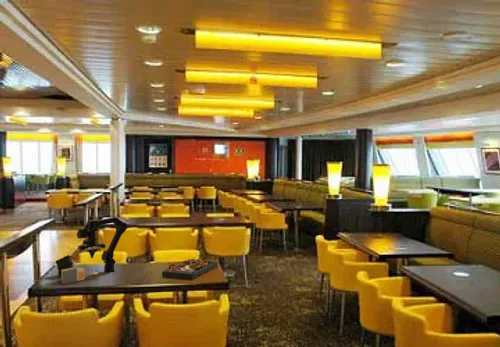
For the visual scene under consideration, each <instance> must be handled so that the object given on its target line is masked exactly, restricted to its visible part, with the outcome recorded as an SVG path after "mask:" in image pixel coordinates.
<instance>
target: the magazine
mask: <svg viewBox="0 0 500 347" xmlns="http://www.w3.org/2000/svg"><path fill="white" fill-rule="evenodd" d="M71 257H72V256H71V255H70V254H68V255H65V256H63V257H61V258H59V259H57V260H55V264H56V266H57V267H56V268H57V270H58V272H57V274H58V276H59V275H60V276H61V277H62V271H61V270H63V269H68V268H73V264H74V262H73V260H72V258H71Z"/></svg>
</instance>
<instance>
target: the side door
mask: <svg viewBox="0 0 500 347" xmlns="http://www.w3.org/2000/svg"><path fill="white" fill-rule="evenodd" d="M78 267H79V264H76V263H73V269H71V270H67V271H62V276H61V284H62V285H66V284H71V283H74V282H75V283H76V282H78V281H77V269H78Z"/></svg>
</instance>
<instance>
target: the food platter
mask: <svg viewBox="0 0 500 347" xmlns="http://www.w3.org/2000/svg"><path fill="white" fill-rule="evenodd" d="M167 264H168V267H167V268H166V269H164V270H162V271H161V277H162V276H166V277H165V278H170V277H177V278H176V279H181V278H188V279H187V280H192V279H193V280H194V278H195V279H197V278H198V277H197V276H199V275H201V274H203V273H205V272H207V271H208V272H210V271H212V270H214V269H216V268H218V261H214V260H213V261H210V260H208V259H205V260H200V258H199V259H196V258H194V257H193V258H191V259H190V258H188V259H186V260H182V262H181V263H180V264H179V263H178V264H175V263H171V264H170V263H169V262H167ZM211 269H212V270H211ZM209 270H210V271H209ZM208 272H207V273H208ZM205 274H206V273H205ZM203 275H204V274H203ZM201 276H202V275H201ZM196 277H197V278H196ZM199 277H200V276H199Z"/></svg>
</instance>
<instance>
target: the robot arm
mask: <svg viewBox="0 0 500 347" xmlns="http://www.w3.org/2000/svg"><path fill="white" fill-rule="evenodd" d="M108 224H109V225H110V224H114V225H115V226H116V227H115V233H114V234H113V237H112V239H111V241H110V244H109V246H108V248H107V250H103V251H102V254H101V260H102V262H103V264H104V266H103V272H105V273H106V274H107V273H114V272H116V270H115V265H116V262H117V261H116V260H115V259H114V257H115V256H114V252H115V249H116V248H117V245H118V243H119V241H120V239H121V237H122V235H123V234H124V233H125V232H126V230H127V229H128V227H129V226H128V224H127V222H123V221H122V220H120V219H119V218H118V217H116V216H112V217H109V218H108V217H107V218H103V219H88V220H87V222H86V224H85V226H84V227H83V228H78V230H77V231H76V232H77V233H76V237H77V239H78V240H79V239H84V240H82V244H81V245H80V244H79V245H78V246H77V250H79V251H88V254H89V255H90V256H89V257H90V258H91V259H93V258H94V256H95V254H96V252H97V251H98V250H99V248H101V249H105V248H106V244H105V243H104V242H102V243H98V244H97V235H96V234H97V232H99V229H98V228H99V227H100V226H104V225H108Z"/></svg>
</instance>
